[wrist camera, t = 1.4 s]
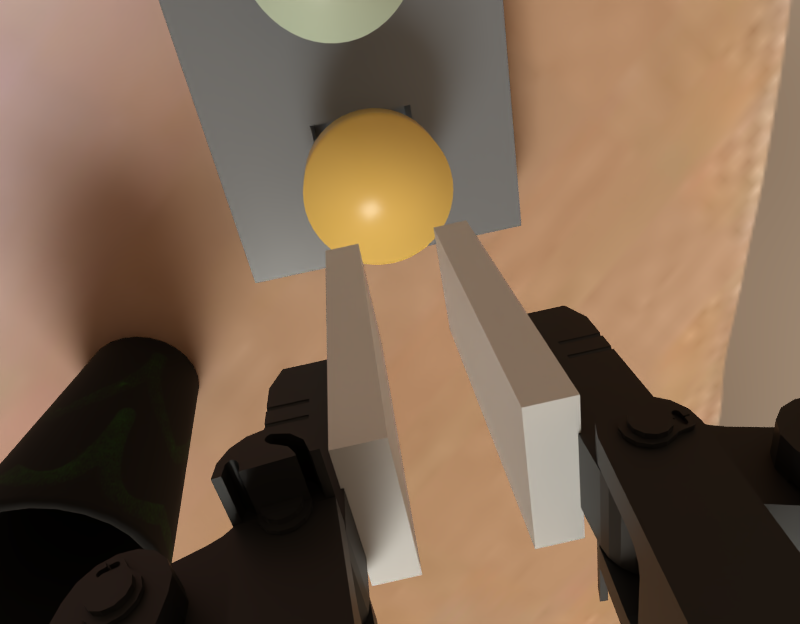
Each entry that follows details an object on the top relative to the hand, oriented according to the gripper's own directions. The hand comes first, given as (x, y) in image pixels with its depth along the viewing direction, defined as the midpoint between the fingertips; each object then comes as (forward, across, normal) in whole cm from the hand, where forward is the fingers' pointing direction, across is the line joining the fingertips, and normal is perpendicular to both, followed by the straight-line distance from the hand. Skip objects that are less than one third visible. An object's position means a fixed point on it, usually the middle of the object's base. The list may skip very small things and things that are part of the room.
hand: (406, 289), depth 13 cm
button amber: (+12, 0, 0) cm, 12 cm away
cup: (+15, -14, -10) cm, 22 cm away
